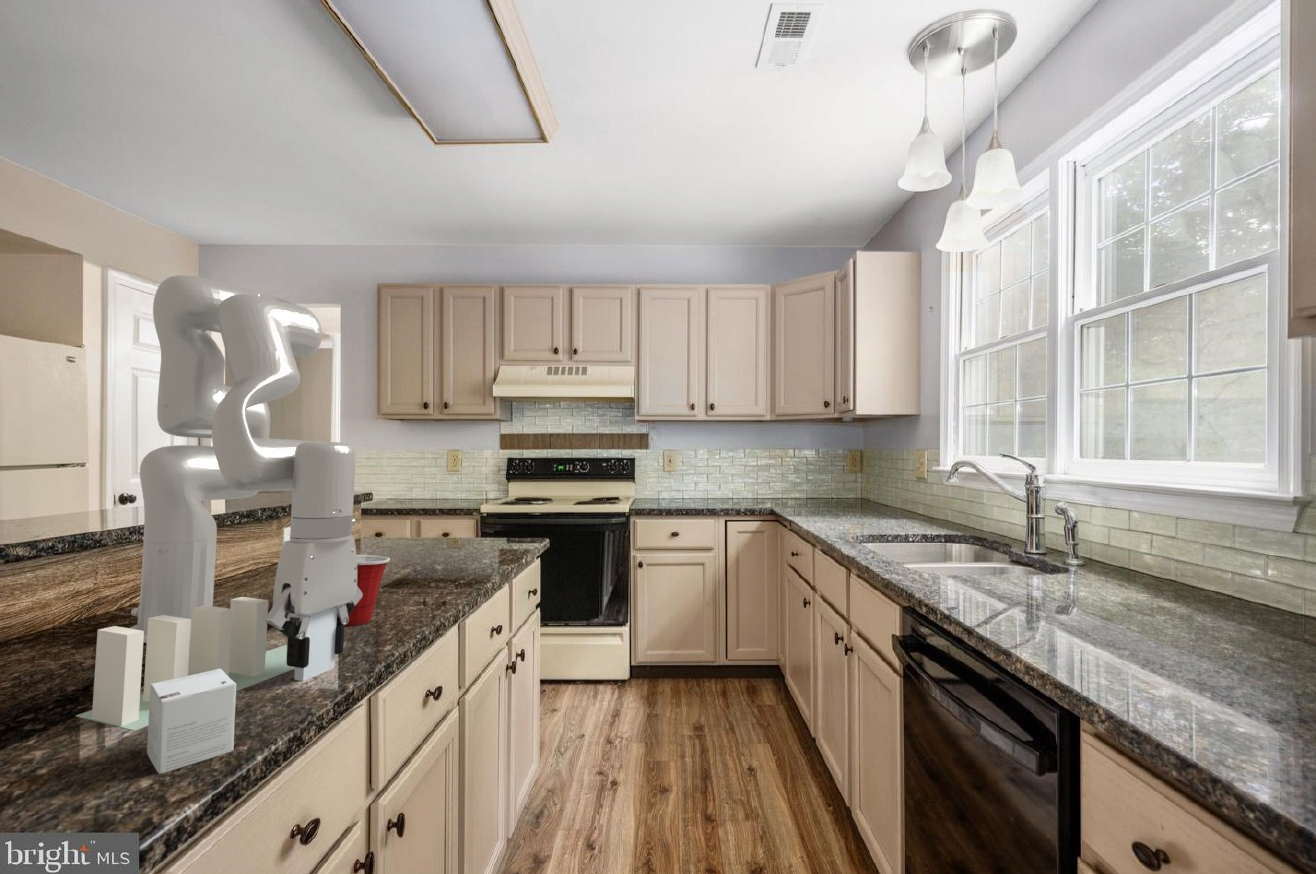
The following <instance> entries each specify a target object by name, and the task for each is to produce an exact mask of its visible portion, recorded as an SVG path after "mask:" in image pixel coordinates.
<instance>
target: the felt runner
mask: <svg viewBox="0 0 1316 874" xmlns="http://www.w3.org/2000/svg"><path fill="white" fill-rule="evenodd" d="M286 662H287V644H285V645H282V646H279V647H276V648H275V647H274V648H272V649H270V650H266V657H265V673H262V674H259V675H257V676H254V677H253V676H247V675H242V674H237V673H231V672H229V678H230V679H231V680H232V681H234V682H235V683H236V692H239V691H241V690H244V689H246V688H249V687H252V686H254V685H257V684H259V683H262V682H264V681H267V680H270V679H272V678H275V677H277V676H280V675H282V674H285V673H288V672H291V671H293V670H295V667H292V666H288V665H287V663H286ZM143 694H144V692H140V703H139V719H138V720H136V721H133V722H130V723H128V724H125V725H122V726H121V725H117V724H112V723H108V722H104V721H100V720H96V719H92V709H91V710H88V711H86V712H82V713H78V714H77V715H75V717H76V718H77V717H78V718H81V719H85V720H90V721H94V722H98V723H101V724H106V725H109V726H115V727H118V728H122V729H124V730H125V729H126V730H130V731H133V732H134V731H135V732H136V731H138V730H140V729H143V728H146V727H148V722H149V702H147V701H143Z"/></svg>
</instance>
